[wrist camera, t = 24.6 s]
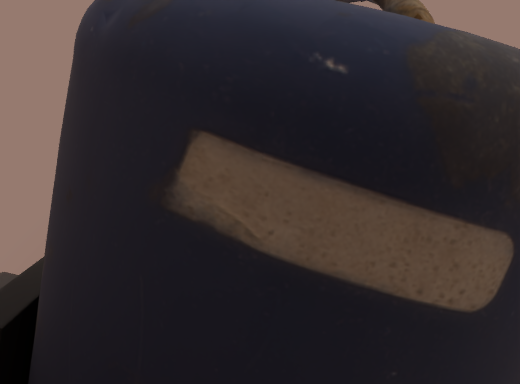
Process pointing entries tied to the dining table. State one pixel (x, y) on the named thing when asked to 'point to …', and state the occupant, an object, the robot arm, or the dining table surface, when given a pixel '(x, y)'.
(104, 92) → the canister
